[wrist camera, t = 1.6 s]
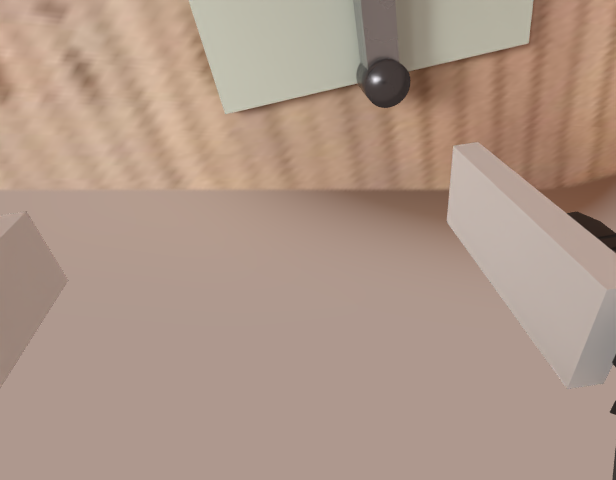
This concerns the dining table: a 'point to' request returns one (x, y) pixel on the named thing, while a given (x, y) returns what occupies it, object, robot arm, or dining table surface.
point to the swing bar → (379, 53)
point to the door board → (338, 41)
